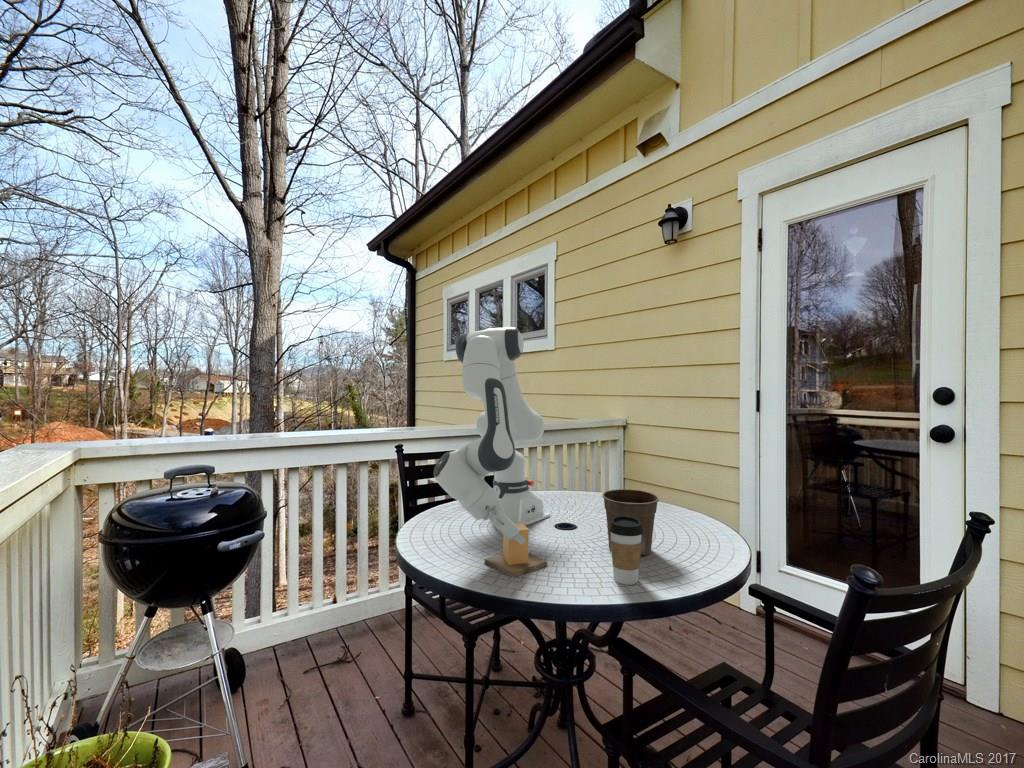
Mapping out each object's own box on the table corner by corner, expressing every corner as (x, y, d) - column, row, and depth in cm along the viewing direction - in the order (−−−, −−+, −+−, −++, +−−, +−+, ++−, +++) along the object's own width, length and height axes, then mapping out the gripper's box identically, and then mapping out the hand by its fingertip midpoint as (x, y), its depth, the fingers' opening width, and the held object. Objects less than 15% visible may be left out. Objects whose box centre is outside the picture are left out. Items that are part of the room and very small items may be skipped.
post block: (518, 553, 138) (518, 531, 138) (547, 565, 129) (547, 542, 129) (484, 563, 130) (484, 540, 130) (512, 577, 121) (512, 553, 121)
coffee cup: (637, 572, 124) (637, 515, 124) (647, 586, 116) (648, 525, 116) (605, 573, 124) (605, 515, 124) (613, 587, 116) (613, 525, 115)
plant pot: (661, 562, 131) (661, 504, 131) (601, 558, 134) (601, 501, 134) (656, 542, 147) (656, 490, 147) (602, 539, 150) (602, 488, 150)
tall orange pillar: (503, 557, 132) (503, 524, 131) (522, 555, 133) (522, 523, 133) (508, 564, 126) (508, 530, 126) (528, 562, 128) (528, 529, 128)
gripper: (500, 503, 117) (538, 539, 120) (482, 485, 137) (515, 516, 140) (482, 523, 116) (521, 559, 119) (467, 502, 136) (500, 533, 139)
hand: (518, 536), depth 130 cm, fingers open, 8 cm apart
